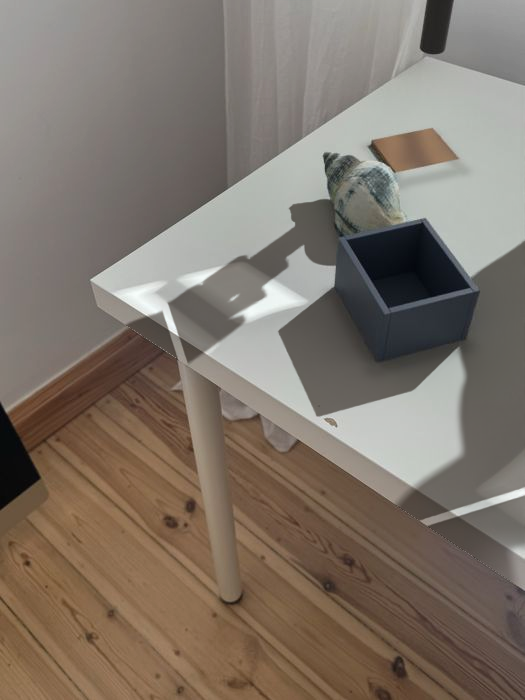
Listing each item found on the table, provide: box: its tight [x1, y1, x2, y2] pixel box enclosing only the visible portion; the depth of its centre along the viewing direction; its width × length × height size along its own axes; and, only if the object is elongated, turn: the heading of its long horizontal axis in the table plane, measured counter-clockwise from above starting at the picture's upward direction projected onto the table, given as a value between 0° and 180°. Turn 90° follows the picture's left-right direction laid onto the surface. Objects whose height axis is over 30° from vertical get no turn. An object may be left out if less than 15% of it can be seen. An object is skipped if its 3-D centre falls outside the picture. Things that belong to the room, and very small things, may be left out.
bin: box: [333, 217, 481, 364], centre depth 66 cm, size 9×10×7 cm
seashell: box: [322, 151, 409, 237], centre depth 75 cm, size 6×8×12 cm
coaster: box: [370, 127, 460, 174], centre depth 85 cm, size 8×8×1 cm
